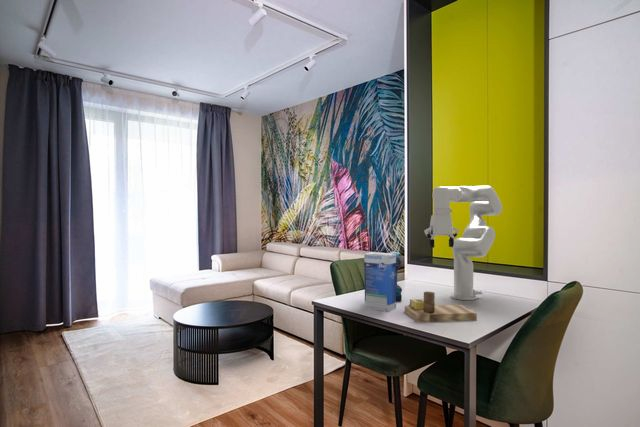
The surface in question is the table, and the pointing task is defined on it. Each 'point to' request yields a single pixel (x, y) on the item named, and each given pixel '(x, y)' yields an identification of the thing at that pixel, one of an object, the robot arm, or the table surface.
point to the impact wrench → (398, 264)
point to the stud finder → (417, 303)
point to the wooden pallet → (442, 313)
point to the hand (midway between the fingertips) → (441, 247)
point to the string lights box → (380, 281)
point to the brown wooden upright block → (429, 302)
